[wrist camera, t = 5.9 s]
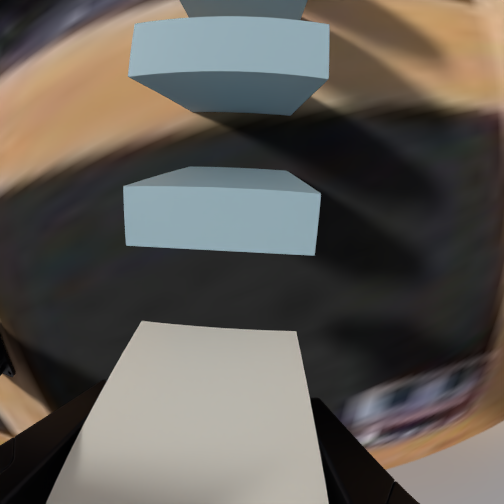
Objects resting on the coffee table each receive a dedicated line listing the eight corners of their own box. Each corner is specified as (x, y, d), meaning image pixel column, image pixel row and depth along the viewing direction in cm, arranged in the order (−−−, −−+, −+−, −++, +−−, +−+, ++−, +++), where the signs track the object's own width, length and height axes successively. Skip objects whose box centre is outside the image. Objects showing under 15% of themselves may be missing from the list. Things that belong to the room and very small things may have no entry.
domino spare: (290, 369, 10) (319, 619, 2) (147, 359, 10) (61, 581, 2) (296, 331, 10) (345, 617, 1) (141, 321, 10) (21, 563, 1)
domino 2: (284, 201, 16) (314, 255, 8) (189, 196, 16) (125, 245, 8) (287, 170, 15) (321, 193, 7) (190, 166, 15) (123, 186, 7)
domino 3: (290, 115, 15) (328, 79, 6) (192, 112, 14) (127, 76, 6) (291, 86, 14) (329, 24, 6) (194, 83, 14) (134, 24, 6)
